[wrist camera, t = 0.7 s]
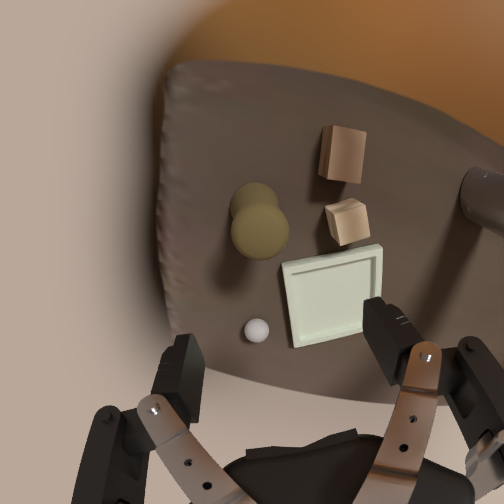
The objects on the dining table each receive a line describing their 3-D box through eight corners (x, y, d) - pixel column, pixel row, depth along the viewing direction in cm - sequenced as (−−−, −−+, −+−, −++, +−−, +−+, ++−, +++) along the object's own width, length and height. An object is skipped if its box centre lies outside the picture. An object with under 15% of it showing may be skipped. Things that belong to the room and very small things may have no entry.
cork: (284, 223, 34) (303, 260, 24) (237, 236, 34) (236, 278, 24) (273, 176, 32) (288, 194, 21) (223, 190, 32) (215, 213, 22)
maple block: (352, 197, 33) (365, 205, 29) (357, 226, 34) (370, 236, 31) (324, 206, 33) (334, 214, 30) (330, 234, 35) (340, 246, 31)
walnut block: (352, 132, 30) (366, 132, 26) (347, 178, 32) (360, 183, 28) (322, 126, 29) (333, 125, 26) (317, 174, 32) (327, 178, 28)
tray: (377, 243, 35) (382, 247, 34) (374, 321, 41) (377, 327, 39) (281, 262, 36) (282, 268, 34) (292, 341, 41) (294, 347, 40)
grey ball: (265, 311, 39) (267, 326, 36) (269, 329, 40) (271, 345, 37) (241, 315, 39) (242, 331, 36) (246, 333, 40) (247, 349, 37)
